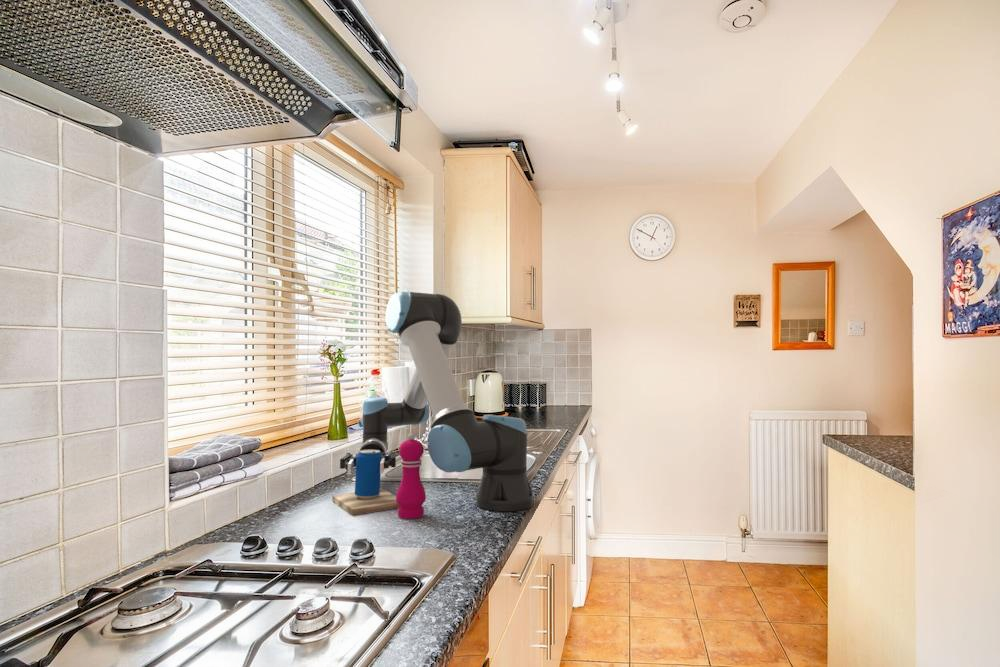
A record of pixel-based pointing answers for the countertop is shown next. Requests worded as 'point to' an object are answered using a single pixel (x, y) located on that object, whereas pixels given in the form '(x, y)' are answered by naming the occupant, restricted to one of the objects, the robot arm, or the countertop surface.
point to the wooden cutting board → (366, 502)
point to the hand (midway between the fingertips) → (365, 468)
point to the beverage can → (367, 474)
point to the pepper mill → (411, 480)
